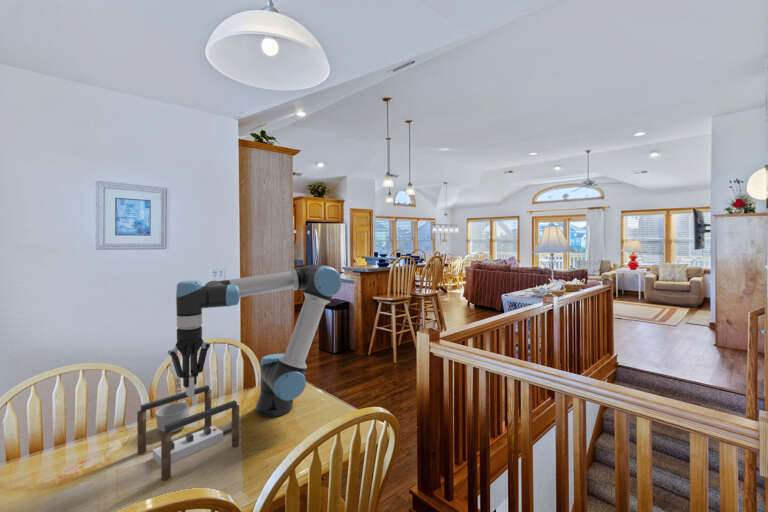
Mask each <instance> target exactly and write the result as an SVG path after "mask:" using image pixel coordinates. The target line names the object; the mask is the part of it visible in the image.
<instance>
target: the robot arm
mask: <svg viewBox="0 0 768 512" xmlns="http://www.w3.org/2000/svg"><path fill="white" fill-rule="evenodd" d="M341 287H342V277H341V274H340V272H339V271H338V270H336V269H335V268H333V267H331V266H329V265H322V264H321V265H320V264H309V265H305V266H304V265H303V266H300V267H295V268H290V270H289V271H282V272H274V273H268V274H260V275H254V276H244V277H238V278H232V279H225V280H210V281H208V282H206V283H205V284H204V285H203V284H202V281H200V280H185V281H179V282H178V283H177V284H176V295H175V302H176V305H175V306H176V327H177V329H176V344H175V347H174V348H172V349H171V350H168V352H167V354H168V355H169V356H170V357H171V361H172V364H173V366H174V370H175V373H176V376H177V377H178V378H180V379H183V380H182V386H183V387H184V388H185V392H186V395H187V396H189V397H188V398H191V397H194V396H195V395H194V389H195V386H196V385H197V383H198V382H197V380H198V379H197V378H198V376H199V374H200V373H203V371H204V366H205V363H206V357H207V353H208V350H209V348H210V347H211V344H210V343H207V342H204V340H203V327H202V325H203V317H202V316H203V309H209V308H210V309H211V308H223V307H224V308H225V307H232V306H237V305H238V304H239V303H240V298H243V297H244V298H245V297H249V296H255V295H261V294H267V293H273V292H280V291H286V290H293V291H301V290H303V295H304V297H305V298H304V301H303V303H302V306H301V310H300V312H299V314H298V317H297V320H296V322H295V326H294V328H293V331H292V334H291V336H290V339H289V341H288V344H287V347H286V349H285V353H274V354H268V355H265V356H263V357H262V358H261V360H260V365H259V366H260V393H259V395H258V399H257V401H256V402H257V403H256V404H255V406H256V407H255V410H256V411H255V412H256V414H257V415H258V416H262V417H265V418H266V417H267V418H272V417H273V418H274V417H279V416H282V415H283V416H284V415H285V414H289V411H290V410H291V409H292V410H293V408H294V399H297V398H298V397H300V396H302V394H303V392H304V391H305V388H306V386H307V380H306V377H305V373H306V371H307V368H308V366H307V364H306V359H307V357H308V355H309V351H310V349H311V347H312V346H311V345H312V343H313V341H314V339H315V335H316V332H317V329H318V328H319V324H320V321H321V318H322V315H323V313H324V310H325V308H326V305H327V304H329V303H331V301H332V299H333V297H334V295H336V294H338V293H339V291H340V289H341ZM199 350H200V351H199ZM178 351H179V352H178ZM179 353H181V358H182V360H181V361H182V365H181V362H180V357H179V356H178V355H179ZM292 410H291V411H292ZM291 411H290V412H291Z"/></svg>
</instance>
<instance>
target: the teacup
mask: <svg viewBox="0 0 768 512" xmlns="http://www.w3.org/2000/svg"><path fill="white" fill-rule="evenodd" d="M189 407H190V405H189V403H188V401H187V400H182V401H181V400H180V402H175V403H174V402H172V403H168V404H165V405H163V406H162V407H160V408H159V409H157V410H156V411H155V421H156V427H157V429H158V430H159V431H160V432H161V433H162V432H163V431H165V425H167V424H170V423H173V422H175V421H178V420H181V419H184V418H187V417H189V416H190V413H189ZM184 427H185V426H183V427H180V428H177V429H175V430H172V431H171V434H172V433H175V432H176V433H177V432H179V431H180V430H182V429H183V428H184Z"/></svg>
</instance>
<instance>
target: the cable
mask: <svg viewBox="0 0 768 512" xmlns="http://www.w3.org/2000/svg"><path fill="white" fill-rule="evenodd" d="M237 405H238V402H237V401H236V400H235V399H234V400H232V401H228V402H225V403H223V404H220V405H217V406H214V407H212V409H209V410H206V411H205V410H204V411H201V412H198V413H195V414H191V415H189V417H187V418H184V419H181V420H178V421H175V422H173V423H170V424H167V425H165V431H166V432H169V431H172V430H175V429H177V428H180V427H183V426H184V427H185V426H187V425H190V424H193V423H196V422H198V421H201V420H203V419H204V420H205V418H207V417H209V416H212V417H213V416H215V415H218V414H220V413H222V412H225V411H228V410H230V409H231V410H232V408H233V407H236V406H237ZM184 427H183V428H184Z"/></svg>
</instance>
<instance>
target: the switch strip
mask: <svg viewBox="0 0 768 512" xmlns="http://www.w3.org/2000/svg"><path fill="white" fill-rule="evenodd" d="M230 433H232V426H231V427H228V428H227V429H224V430H221V429H219V428H218V427H217V426H216V425H212V426H211V427H208V426H207V427H205V426H204V427H203V429H201V430H199V431H196V432H193V433H191V432H190V433H186V434H185V436H184V437H180V438H179V439H176V440H173V441H172V440H171V464H173V463H174V462H177V461H179V460H181V459H184V458H186V457H188V456H191V455H193V454H195V453H197V452H201V451H202V450H204V449H207V448H209V447H210V446H213V445H215V444H218V443H220V442H222V441H224V436H225V435H228V434H230ZM152 459H153V460H154V461H155V463H156V464H157V465H158V466H159V467H160V468H161V446H159V447H157V448H154V449H152Z"/></svg>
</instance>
